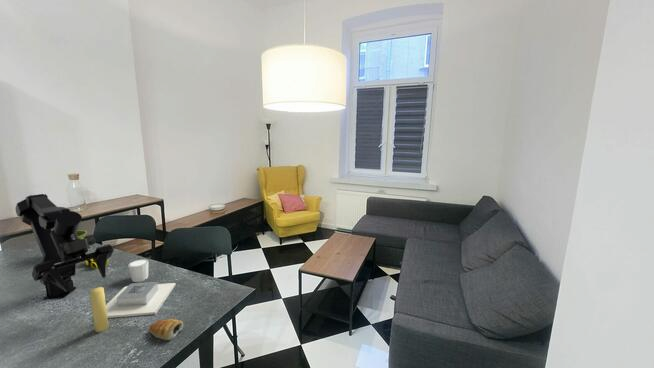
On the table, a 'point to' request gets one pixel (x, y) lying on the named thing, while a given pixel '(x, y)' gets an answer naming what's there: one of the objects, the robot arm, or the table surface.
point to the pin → (99, 309)
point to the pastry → (166, 328)
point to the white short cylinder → (138, 270)
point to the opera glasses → (93, 263)
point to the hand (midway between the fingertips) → (86, 283)
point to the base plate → (140, 309)
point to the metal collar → (137, 294)
